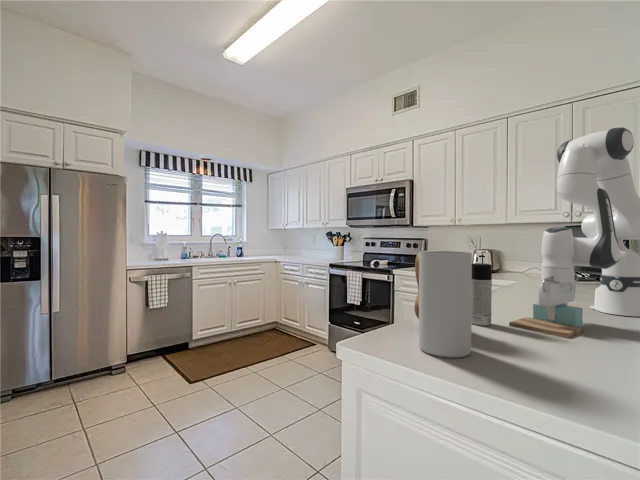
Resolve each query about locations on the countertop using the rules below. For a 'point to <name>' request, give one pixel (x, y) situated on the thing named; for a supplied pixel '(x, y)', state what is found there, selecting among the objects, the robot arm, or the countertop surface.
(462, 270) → the cylinder vase
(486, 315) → the spray can
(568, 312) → the pale blue tall prism
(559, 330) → the board
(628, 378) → the countertop surface
